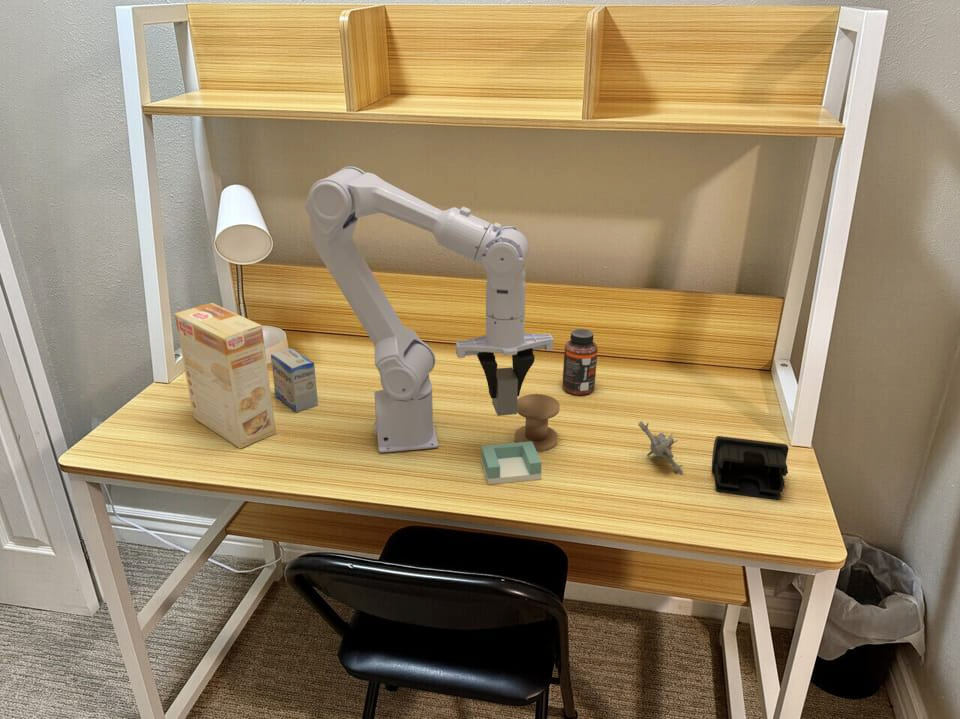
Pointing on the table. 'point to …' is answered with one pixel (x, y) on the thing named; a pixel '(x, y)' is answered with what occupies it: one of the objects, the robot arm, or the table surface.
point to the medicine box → (294, 379)
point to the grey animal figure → (661, 446)
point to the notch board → (510, 462)
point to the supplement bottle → (580, 363)
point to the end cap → (749, 467)
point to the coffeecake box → (226, 373)
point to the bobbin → (537, 421)
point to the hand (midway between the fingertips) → (503, 394)
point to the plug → (506, 392)
